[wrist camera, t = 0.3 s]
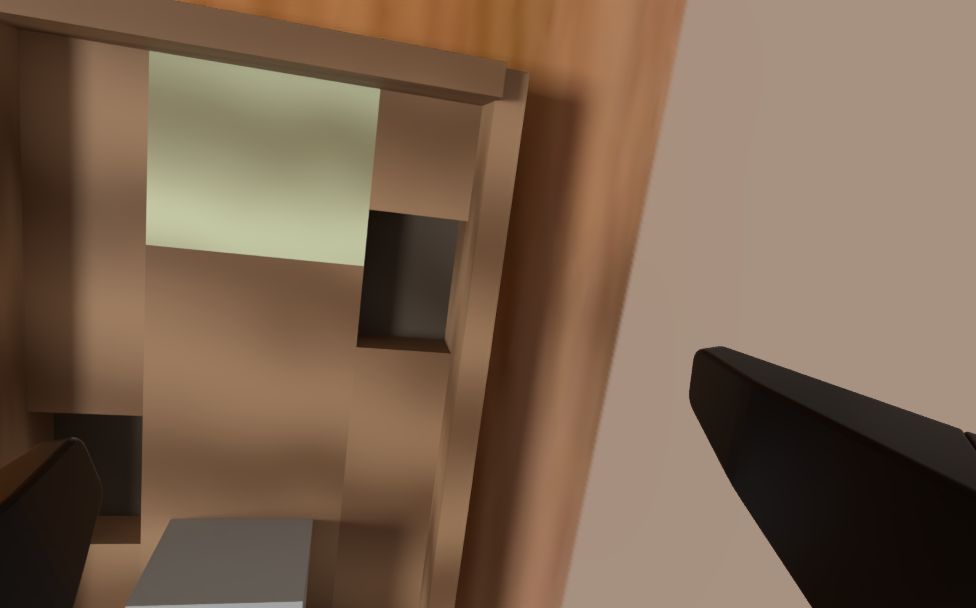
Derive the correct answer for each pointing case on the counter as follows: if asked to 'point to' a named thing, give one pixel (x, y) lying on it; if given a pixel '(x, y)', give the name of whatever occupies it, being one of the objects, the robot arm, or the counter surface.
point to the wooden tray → (253, 280)
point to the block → (227, 565)
